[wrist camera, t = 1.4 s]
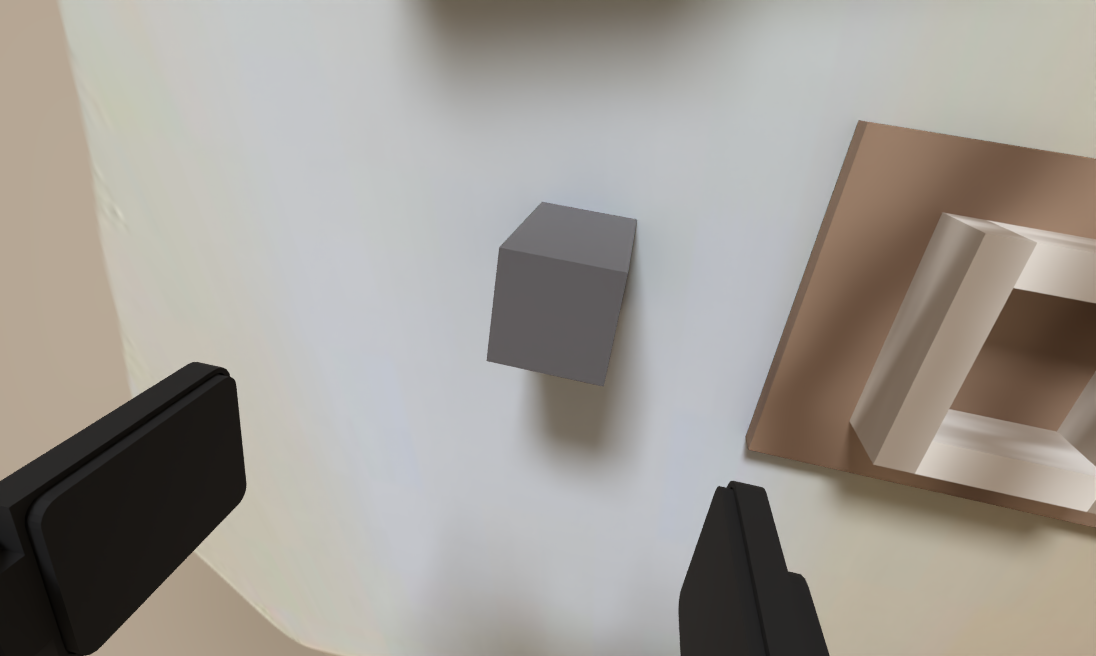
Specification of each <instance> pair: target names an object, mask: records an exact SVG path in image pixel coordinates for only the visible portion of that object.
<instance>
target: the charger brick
mask: <svg viewBox="0 0 1096 656" xmlns="http://www.w3.org/2000/svg"><path fill="white" fill-rule="evenodd" d="M636 222H637V220H636V219H631V218H626V217H620V216H615V215H609V214H604V213H599V212H593V211H588V210H583V209H577V208H572V207H567V206H561V205H556V204H551V203H545V202H542V203H541V204H540V205H539V206H538V207H537V208H536V209H535V210H534V211H533V212H532V213H531V214H530V215H529V216H528V217H527V218H526V220H525V221H524V222H523V223H522V224H521V225H520V226H519V227H518V228H517V229H516V230H515V231H514V232H513V233H512V234H511V236H510V237H509V238H508V239H507V240H506V241H505V242H504V243H503V244H502V245H501V246H500V247H499V255H498V264H497V273H496V281H495V290H494V299H493V308H492V317H491V326H490V335H489V344H488V353H487V361H489V362H494V363H499V364H503V365H508V366H512V367H517V368H521V369H526V370H531V371H535V372H540V373H544V374H549V375H553V376H558V377H563V378H567V379H572V380H576V381H581V382H586V383H590V384H595V385H599V386H604V382H605V377H606V373H607V368H608V364H609V359H610V354H611V350H612V345H613V341H614V336H615V331H616V327H617V322H618V318H619V313H620V308H621V304H622V299H623V295H624V290H625V285H626V281H627V276H628V271H629V265H630V259H631V253H632V247H633V241H634V234H635V228H636Z"/></svg>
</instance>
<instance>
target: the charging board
mask: <svg viewBox="0 0 1096 656" xmlns="http://www.w3.org/2000/svg"><path fill="white" fill-rule="evenodd" d="M746 441H747V445H748V449H749V450H752V451H756V452H761V453H765V454H770V455H774V456H779V457H783V458H788V459H792V460H797V461H801V462H805V463H810V464H814V465H819V466H823V467H828V468H832V469H837V470H841V471H846V472H850V473H854V474H859V475H863V476H868V477H872V478H877V479H881V480H886V481H890V482H895V483H899V484H904V485H908V486H912V487H917V488H921V489H926V490H930V491H935V492H939V493H944V494H948V495H953V496H957V497H962V498H966V499H970V500H975V501H979V502H984V503H988V504H993V505H997V506H1002V507H1006V508H1011V509H1015V510H1020V511H1024V512H1028V513H1033V514H1037V515H1042V516H1046V517H1051V518H1055V519H1060V520H1064V521H1069V522H1073V523H1077V524H1082V525H1086V526H1091V527H1095V528H1096V159H1094V158H1088V157H1082V156H1075V155H1069V154H1063V153H1057V152H1051V151H1045V150H1038V149H1032V148H1026V147H1020V146H1014V145H1008V144H1001V143H995V142H989V141H983V140H977V139H971V138H964V137H958V136H952V135H946V134H940V133H934V132H928V131H921V130H915V129H909V128H903V127H897V126H891V125H884V124H878V123H872V122H866V121H860V120H859V121H858V124H857V127H856V130H855V132H854V135H853V138H852V141H851V144H850V146H849V149H848V152H847V155H846V158H845V160H844V163H843V166H842V169H841V172H840V174H839V177H838V180H837V183H836V186H835V188H834V191H833V194H832V197H831V200H830V202H829V205H828V208H827V211H826V214H825V216H824V219H823V222H822V225H821V228H820V230H819V233H818V236H817V239H816V241H815V244H814V247H813V250H812V253H811V255H810V258H809V261H808V264H807V267H806V269H805V272H804V275H803V278H802V281H801V283H800V286H799V289H798V292H797V295H796V297H795V300H794V303H793V306H792V309H791V311H790V314H789V317H788V320H787V323H786V325H785V328H784V331H783V334H782V337H781V339H780V342H779V345H778V348H777V351H776V353H775V356H774V359H773V362H772V365H771V367H770V370H769V373H768V376H767V379H766V381H765V384H764V387H763V390H762V393H761V395H760V398H759V401H758V404H757V407H756V409H755V412H754V415H753V418H752V421H751V423H750V426H749V429H748V432H747V435H746Z"/></svg>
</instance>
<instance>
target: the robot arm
mask: <svg viewBox="0 0 1096 656" xmlns="http://www.w3.org/2000/svg"><path fill="white" fill-rule="evenodd" d="M245 491H246V475H245V466H244V456H243V446H242V436H241V427H240V417H239V407H238V398H237V388H236V382H235V380H234V379H233V378H231V377H230V374H229V372H228V371H227V369H225V368H222V367H218V366H213V365H209V364H204V363H200V362H192V363H190V364H188V365H186V366H184V367H183V368H181V369H180V370H178V371H176V372H175V373H173V374H172V375H170V376H168V377H167V378H165V379H164V380H162V381H160V382H159V383H157V384H156V385H154V386H152V387H151V388H149V389H147V390H146V391H144V392H143V393H141V394H139V395H138V396H136V397H135V398H133V399H131V400H130V401H128V402H127V403H125V404H124V405H122V406H120V407H119V408H117V409H115V410H114V411H112V412H111V413H109V414H107V415H106V416H104V417H102V418H101V419H99V420H98V421H96V422H95V423H93V424H91V425H90V426H88V427H86V428H85V429H83V430H82V431H80V432H78V433H77V434H75V435H74V436H72V437H70V438H69V439H67V440H66V441H64V442H62V443H61V444H59V445H58V446H56V447H54V448H53V449H51V450H50V451H48V452H46V453H45V454H43V455H41V456H40V457H38V458H37V459H35V460H33V461H32V462H30V463H29V464H27V465H25V466H24V467H22V468H21V469H19V470H17V471H16V472H14V473H13V474H11V475H9V476H8V477H6V478H4V479H3V480H1V481H0V656H84V655H85V656H86V655H90V654H92V653H93V652H95V651H97V650H98V649H99V648H100V647H101V646H102V645H103V644H104V643H105V642H106V641H107V640H108V639H109V638H110V637H111V636H112V635H113V634H114V633H115V632H116V631H117V630H118V628H120V626H121V625H122V624H123V623H124V622H125V621H126V620H127V619H128V618H129V617H130V616H131V615H132V614H133V613H134V612H135V611H136V610H137V609H138V608H139V607H140V606H141V605H142V604H143V603H144V602H145V601H146V600H147V598H148V597H149V596H150V595H151V594H152V593H153V592H154V591H155V590H156V589H157V588H158V587H159V586H160V585H161V584H162V583H163V582H164V581H165V580H166V579H167V577H169V576H170V574H172V573H173V572H174V570H175V569H176V568H177V567H178V566H179V565H180V564H181V563H182V562H183V561H184V560H185V559H186V558H187V557H188V556H189V555H190V554H191V553H192V552H193V551H194V550H195V549H196V548H197V547H198V546H199V545H200V544H201V543H202V541H203V540H204V539H205V538H206V537H207V536H208V535H209V534H210V533H211V532H212V531H213V530H214V529H215V528H216V527H217V526H218V525H219V524H220V523H221V522H222V521H223V520H224V519H225V518H226V517H227V516H228V515H229V513H230V512H231V511H232V510H233V509H234V508H235V507H236V506H237V505H238V504H239V503H240V502H241V500H242V498H243V496H244V494H245ZM679 632H680V652H681V656H829V652H828V649H827V646H826V643H825V639H824V636H823V633H822V629H821V626H820V623H819V620H818V616H817V613H816V610H815V607H814V603H813V600H812V597H811V594H810V590H809V587H808V585H807V582H806V580H805V578H804V577H803V576H802V575H801V574H797V573H793V572H788V570H787V567H786V563H785V559H784V556H783V552H782V548H781V545H780V541H779V537H778V534H777V530H776V526H775V523H774V519H773V516H772V512H771V508H770V505H769V501H768V497H767V494H766V491H765V489H764V488H763V487H759V486H754V485H750V484H745V483H741V482H736V481H730V483H729V484H728V486H727V488H725V487H721V486H718V487H717V489H716V491H715V493H714V496H713V499H712V502H711V505H710V508H709V511H708V514H707V516H706V519H705V522H704V525H703V528H702V531H701V534H700V537H699V540H698V542H697V545H696V548H695V551H694V554H693V557H692V560H691V563H690V566H689V569H688V571H687V574H686V577H685V580H684V583H683V586H682V589H681V592H680V598H679Z"/></svg>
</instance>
